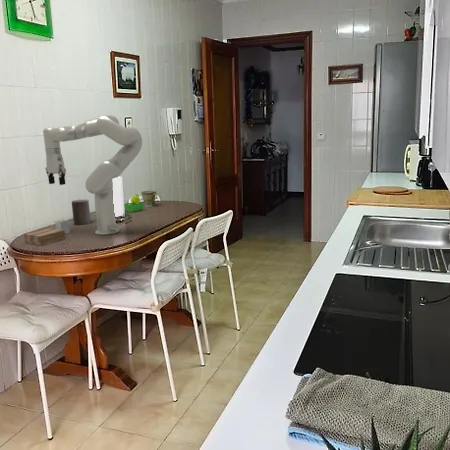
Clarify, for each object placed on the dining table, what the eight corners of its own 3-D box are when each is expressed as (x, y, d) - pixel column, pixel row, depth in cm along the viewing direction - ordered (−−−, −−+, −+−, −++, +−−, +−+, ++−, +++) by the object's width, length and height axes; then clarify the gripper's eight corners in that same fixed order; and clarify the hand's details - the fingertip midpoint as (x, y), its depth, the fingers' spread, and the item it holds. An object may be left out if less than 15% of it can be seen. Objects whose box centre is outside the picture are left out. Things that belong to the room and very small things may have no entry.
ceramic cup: (139, 207, 337) (137, 192, 334) (149, 204, 344) (148, 190, 342) (152, 208, 329) (151, 193, 327) (163, 205, 337) (162, 191, 334)
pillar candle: (74, 226, 286) (71, 200, 283) (73, 223, 295) (70, 198, 292) (92, 224, 290) (89, 198, 286) (89, 221, 299) (87, 196, 295)
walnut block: (65, 239, 254) (64, 230, 253) (41, 246, 243) (40, 236, 242) (49, 237, 263) (48, 228, 262) (25, 243, 252) (24, 234, 251)
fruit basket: (137, 209, 329) (135, 192, 327) (146, 210, 323) (144, 193, 321) (123, 212, 321) (121, 195, 319) (132, 213, 315) (130, 195, 313)
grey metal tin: (70, 232, 269) (68, 220, 267) (62, 235, 265) (60, 222, 263) (64, 232, 272) (62, 219, 270) (56, 234, 268) (54, 221, 266)
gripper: (69, 151, 257) (72, 183, 261) (50, 151, 268) (54, 182, 271) (56, 152, 251) (60, 185, 255) (37, 152, 262) (41, 184, 266)
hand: (57, 184), depth 263 cm, fingers open, 9 cm apart
